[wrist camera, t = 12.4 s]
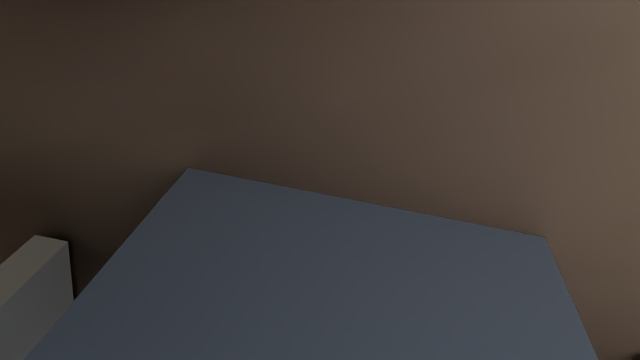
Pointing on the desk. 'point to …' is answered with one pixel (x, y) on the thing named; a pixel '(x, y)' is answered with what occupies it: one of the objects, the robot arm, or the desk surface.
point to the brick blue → (316, 284)
